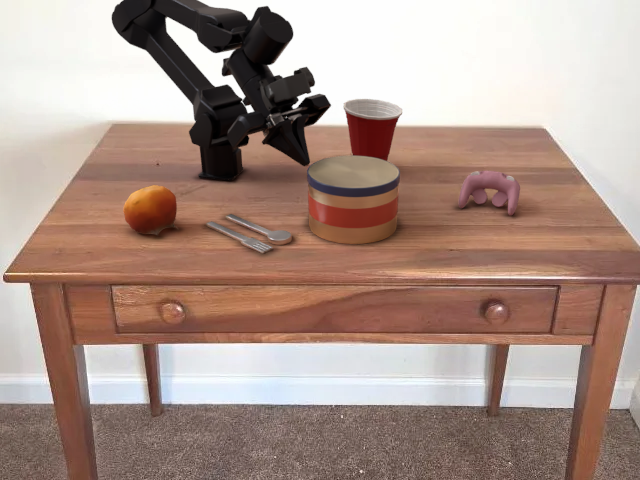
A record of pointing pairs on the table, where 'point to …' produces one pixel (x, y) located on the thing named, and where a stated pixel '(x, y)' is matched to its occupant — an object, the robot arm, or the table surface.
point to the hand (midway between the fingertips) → (307, 164)
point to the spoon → (263, 231)
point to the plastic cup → (371, 126)
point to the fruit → (151, 210)
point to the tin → (353, 199)
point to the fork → (241, 238)
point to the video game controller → (490, 180)
